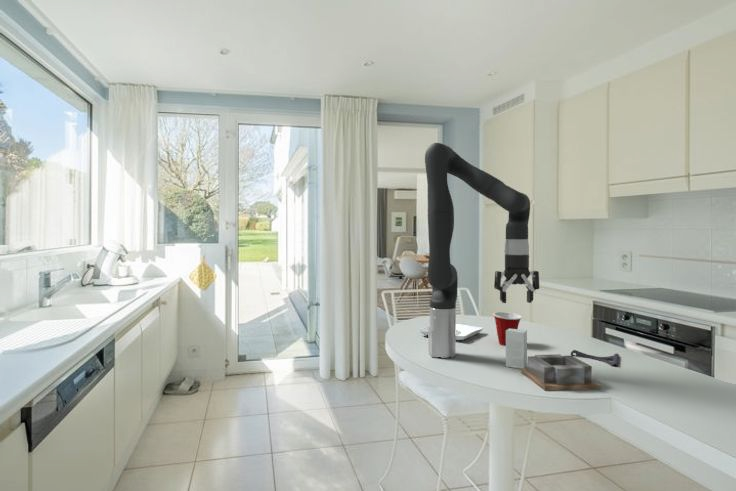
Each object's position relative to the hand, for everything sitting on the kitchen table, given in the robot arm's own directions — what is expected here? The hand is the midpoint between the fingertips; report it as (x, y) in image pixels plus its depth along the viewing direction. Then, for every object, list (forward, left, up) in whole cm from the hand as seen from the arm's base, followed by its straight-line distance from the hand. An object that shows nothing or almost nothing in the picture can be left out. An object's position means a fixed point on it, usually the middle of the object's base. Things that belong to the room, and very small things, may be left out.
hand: (516, 302), depth 143 cm
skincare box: (0, 0, -21) cm, 21 cm away
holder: (+7, -14, -21) cm, 26 cm away
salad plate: (-10, +45, -22) cm, 51 cm away
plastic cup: (+8, +28, -21) cm, 36 cm away
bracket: (+31, +7, -22) cm, 39 cm away
